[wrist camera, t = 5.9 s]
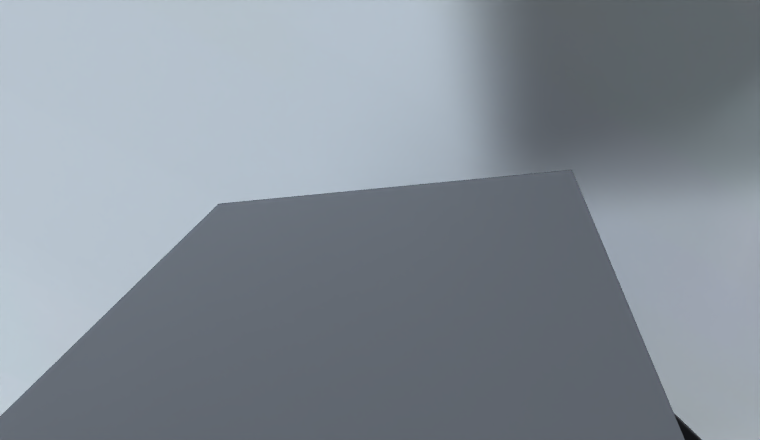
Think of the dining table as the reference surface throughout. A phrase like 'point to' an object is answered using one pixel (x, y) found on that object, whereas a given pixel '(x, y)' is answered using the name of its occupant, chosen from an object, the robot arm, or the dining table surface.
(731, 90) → the dining table surface
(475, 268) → the slate cube
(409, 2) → the dining table surface
